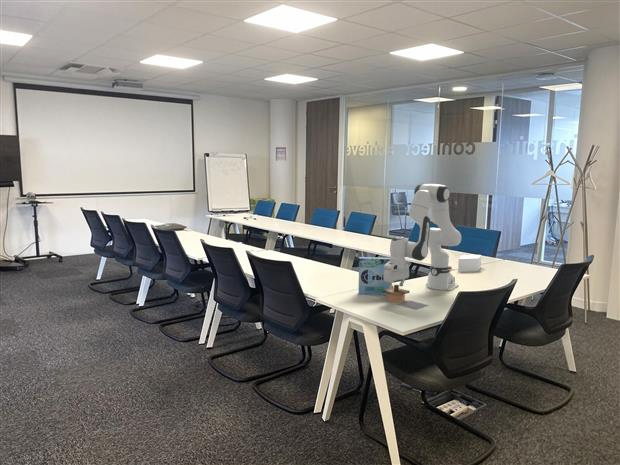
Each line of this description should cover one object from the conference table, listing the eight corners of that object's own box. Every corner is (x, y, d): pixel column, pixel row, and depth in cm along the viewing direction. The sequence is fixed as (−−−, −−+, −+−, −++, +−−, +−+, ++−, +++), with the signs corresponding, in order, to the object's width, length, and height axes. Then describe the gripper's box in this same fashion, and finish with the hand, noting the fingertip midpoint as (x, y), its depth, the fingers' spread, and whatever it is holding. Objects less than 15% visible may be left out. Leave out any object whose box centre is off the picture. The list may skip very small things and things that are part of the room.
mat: (410, 301, 270) (410, 300, 270) (429, 306, 260) (429, 305, 260) (396, 305, 261) (396, 304, 261) (415, 310, 252) (415, 309, 252)
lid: (394, 289, 279) (394, 282, 279) (409, 292, 271) (409, 285, 271) (382, 292, 272) (383, 284, 271) (398, 296, 264) (398, 288, 263)
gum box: (390, 294, 285) (391, 257, 282) (390, 296, 280) (391, 259, 277) (358, 292, 288) (359, 256, 285) (358, 294, 283) (359, 257, 280)
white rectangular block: (488, 269, 364) (489, 256, 362) (466, 273, 347) (467, 260, 345) (472, 266, 375) (473, 253, 374) (450, 270, 358) (450, 257, 357)
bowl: (394, 296, 279) (394, 289, 279) (407, 300, 272) (408, 292, 271) (383, 299, 272) (383, 292, 272) (397, 303, 265) (397, 295, 264)
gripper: (403, 261, 279) (402, 283, 280) (381, 265, 265) (381, 289, 267) (412, 263, 274) (411, 285, 276) (390, 267, 260) (389, 291, 262)
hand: (396, 287), depth 271 cm, fingers open, 8 cm apart
